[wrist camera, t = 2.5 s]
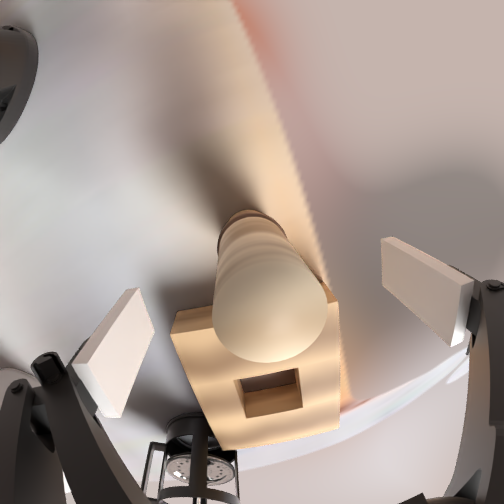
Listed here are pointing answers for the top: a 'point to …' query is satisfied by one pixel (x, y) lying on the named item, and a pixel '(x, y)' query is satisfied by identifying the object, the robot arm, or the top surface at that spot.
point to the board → (268, 400)
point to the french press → (193, 463)
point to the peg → (264, 292)
